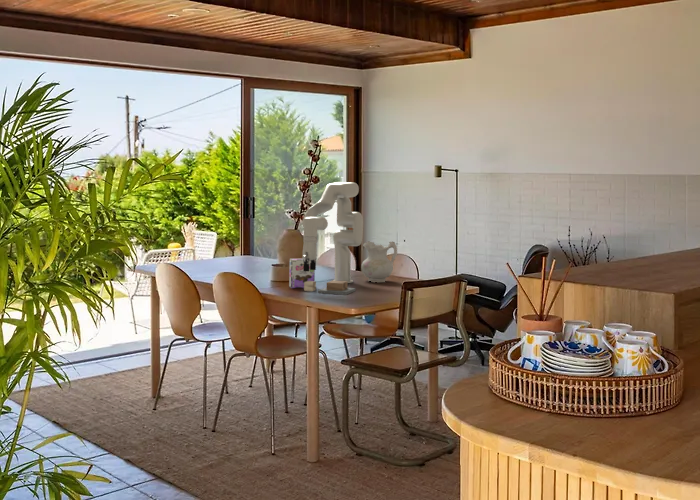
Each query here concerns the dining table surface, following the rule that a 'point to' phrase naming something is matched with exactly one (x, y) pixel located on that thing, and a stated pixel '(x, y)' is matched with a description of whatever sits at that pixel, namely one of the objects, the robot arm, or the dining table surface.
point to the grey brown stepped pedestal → (337, 288)
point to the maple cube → (310, 286)
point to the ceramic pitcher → (378, 262)
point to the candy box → (299, 273)
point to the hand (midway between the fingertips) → (309, 270)
